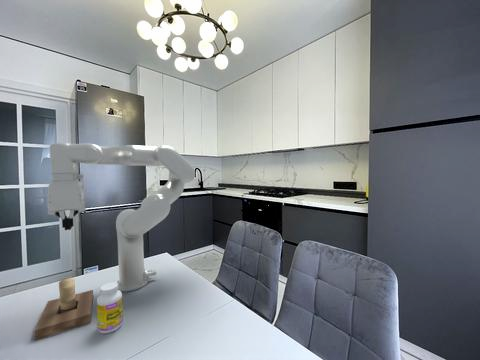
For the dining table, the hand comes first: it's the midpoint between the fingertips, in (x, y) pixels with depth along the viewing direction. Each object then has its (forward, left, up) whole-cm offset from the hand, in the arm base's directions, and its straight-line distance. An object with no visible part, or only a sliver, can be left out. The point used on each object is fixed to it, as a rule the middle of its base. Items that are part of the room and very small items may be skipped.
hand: (68, 229), depth 78 cm
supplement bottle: (-12, +22, -27) cm, 37 cm away
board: (0, +9, -27) cm, 29 cm away
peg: (0, +9, -27) cm, 29 cm away
